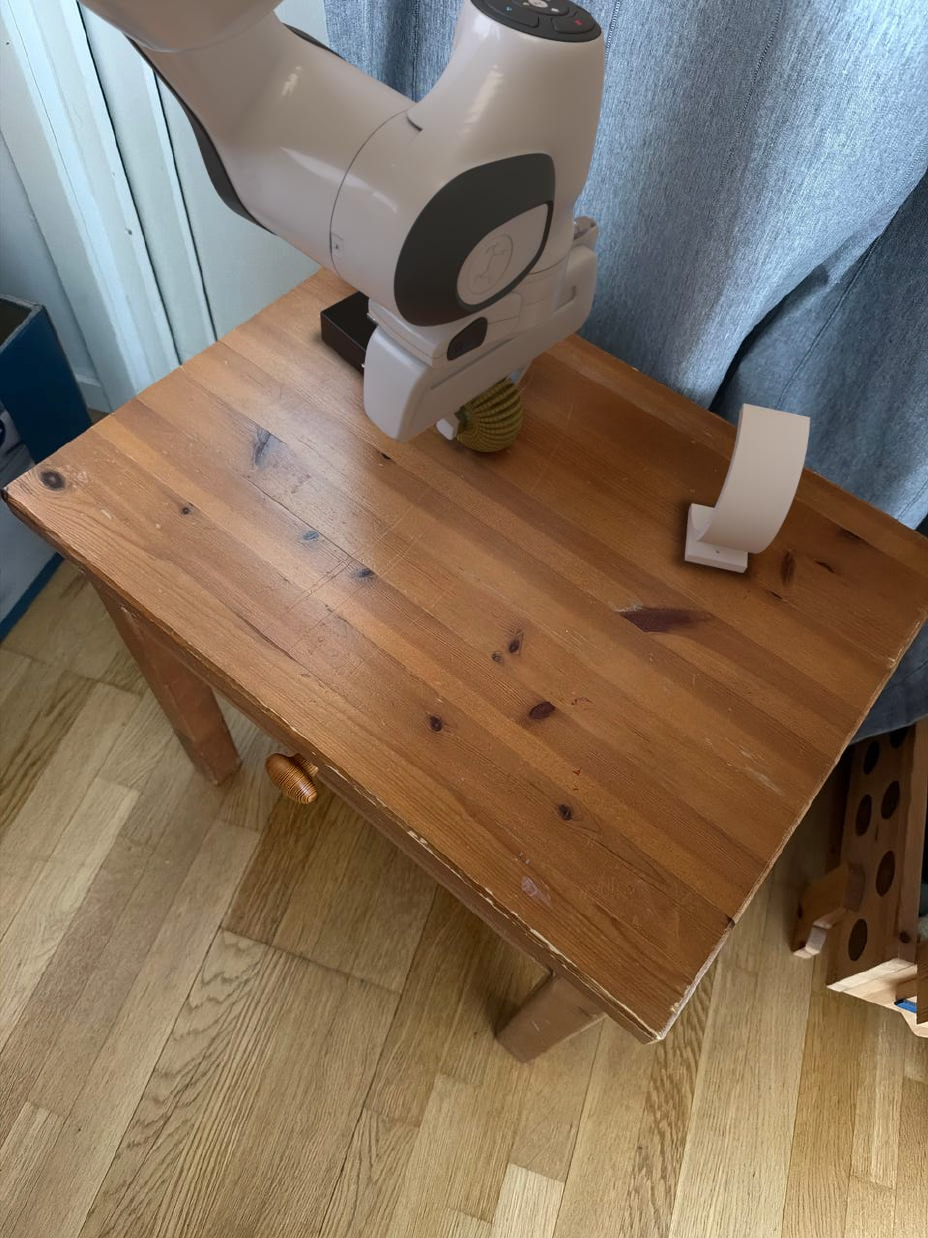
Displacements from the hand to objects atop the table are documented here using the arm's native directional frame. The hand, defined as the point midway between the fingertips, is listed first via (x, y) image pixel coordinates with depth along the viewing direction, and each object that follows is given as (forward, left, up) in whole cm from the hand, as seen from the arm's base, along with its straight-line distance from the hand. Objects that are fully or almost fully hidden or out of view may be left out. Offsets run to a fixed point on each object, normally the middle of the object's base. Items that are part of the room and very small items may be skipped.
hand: (475, 414), depth 70 cm
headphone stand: (+7, -20, -3) cm, 21 cm away
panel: (+4, +11, -3) cm, 12 cm away
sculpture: (0, 0, -3) cm, 3 cm away
